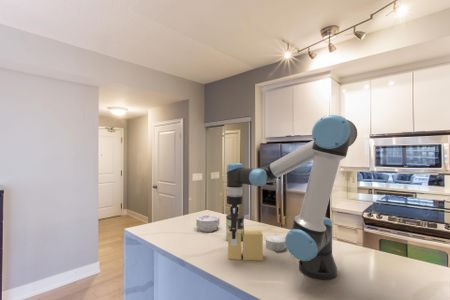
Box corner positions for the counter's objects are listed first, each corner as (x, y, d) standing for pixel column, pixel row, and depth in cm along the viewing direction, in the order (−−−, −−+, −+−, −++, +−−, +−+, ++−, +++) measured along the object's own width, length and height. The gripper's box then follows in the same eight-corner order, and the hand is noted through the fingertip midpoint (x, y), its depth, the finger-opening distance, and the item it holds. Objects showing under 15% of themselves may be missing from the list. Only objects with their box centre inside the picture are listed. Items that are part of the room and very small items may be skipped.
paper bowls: (206, 224, 163) (206, 213, 164) (224, 228, 155) (224, 216, 155) (191, 230, 151) (191, 218, 151) (209, 235, 142) (209, 222, 142)
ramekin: (261, 248, 122) (261, 238, 122) (272, 242, 130) (272, 233, 131) (280, 254, 115) (280, 244, 115) (290, 248, 123) (290, 238, 123)
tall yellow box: (261, 255, 113) (261, 230, 113) (262, 260, 107) (262, 234, 107) (242, 254, 113) (242, 230, 113) (243, 260, 108) (242, 233, 108)
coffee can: (245, 238, 137) (244, 214, 138) (242, 244, 127) (242, 219, 127) (228, 236, 139) (227, 213, 140) (224, 243, 129) (224, 218, 129)
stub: (241, 254, 113) (241, 229, 113) (241, 259, 108) (241, 233, 108) (228, 253, 114) (228, 229, 114) (228, 259, 108) (228, 233, 108)
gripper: (228, 190, 124) (227, 230, 124) (225, 200, 99) (224, 250, 99) (242, 191, 123) (241, 231, 123) (242, 201, 98) (242, 251, 98)
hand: (234, 239), depth 111 cm, fingers open, 13 cm apart
